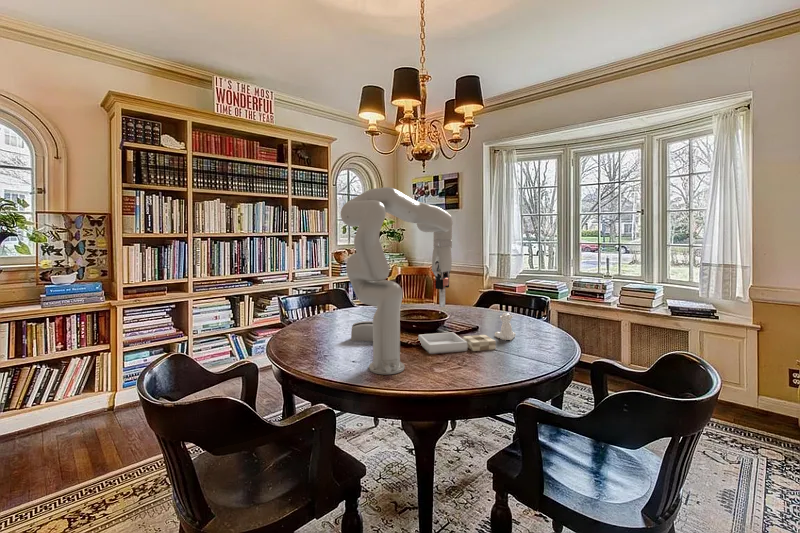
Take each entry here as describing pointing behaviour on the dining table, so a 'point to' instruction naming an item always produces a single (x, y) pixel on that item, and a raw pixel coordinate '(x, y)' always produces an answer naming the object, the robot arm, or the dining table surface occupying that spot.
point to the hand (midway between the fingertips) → (442, 287)
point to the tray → (442, 342)
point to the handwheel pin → (443, 292)
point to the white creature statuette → (505, 328)
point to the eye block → (480, 342)
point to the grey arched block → (362, 331)
